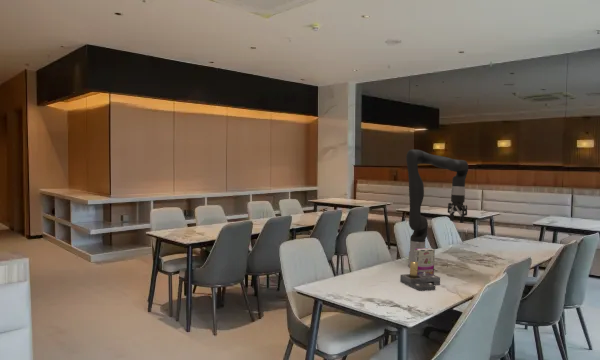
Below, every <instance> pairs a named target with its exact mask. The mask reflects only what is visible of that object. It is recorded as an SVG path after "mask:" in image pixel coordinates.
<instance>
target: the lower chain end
mask: <svg viewBox="0 0 600 360" xmlns="http://www.w3.org/2000/svg"><path fill="white" fill-rule="evenodd" d="M399 279H400V280H399V281H400V283H402V284H404V285H406V286H408V287H410V288H412V289H414V290H416V291H417V292H424V291H435V290H436V285H433V284H432V283H428V282H419V283H409V282H407V281H405V280H403V279H401V278H400V277H399Z"/></svg>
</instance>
